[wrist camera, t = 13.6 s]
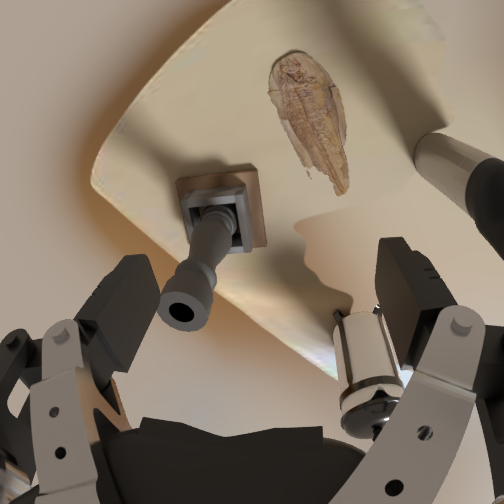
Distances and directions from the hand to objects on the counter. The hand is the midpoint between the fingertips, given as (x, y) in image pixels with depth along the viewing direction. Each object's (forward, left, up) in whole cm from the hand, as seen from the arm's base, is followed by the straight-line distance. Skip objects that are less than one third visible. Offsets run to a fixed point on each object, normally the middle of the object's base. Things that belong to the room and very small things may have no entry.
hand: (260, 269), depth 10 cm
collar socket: (+11, +14, -40) cm, 44 cm away
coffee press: (-15, +45, -40) cm, 62 cm away
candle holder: (+11, +14, -39) cm, 43 cm away
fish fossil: (-6, +1, -41) cm, 41 cm away
